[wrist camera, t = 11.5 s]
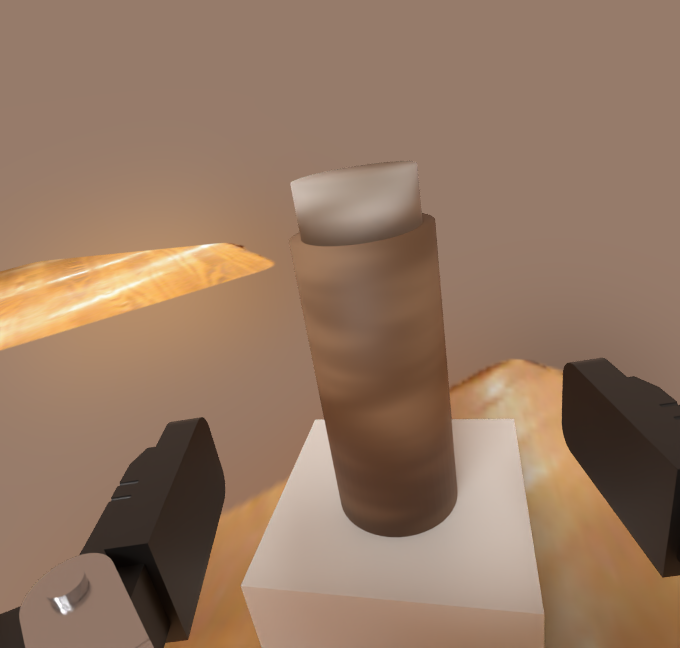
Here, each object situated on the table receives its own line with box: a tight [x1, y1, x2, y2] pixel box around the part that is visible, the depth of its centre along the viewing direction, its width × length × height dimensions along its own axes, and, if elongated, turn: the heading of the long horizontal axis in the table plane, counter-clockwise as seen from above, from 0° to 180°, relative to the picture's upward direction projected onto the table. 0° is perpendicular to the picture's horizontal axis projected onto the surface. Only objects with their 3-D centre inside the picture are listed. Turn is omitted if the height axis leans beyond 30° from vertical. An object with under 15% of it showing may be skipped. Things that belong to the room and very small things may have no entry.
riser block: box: [241, 419, 544, 648], centre depth 21 cm, size 10×10×4 cm
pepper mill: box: [289, 161, 458, 537], centre depth 18 cm, size 5×5×13 cm
